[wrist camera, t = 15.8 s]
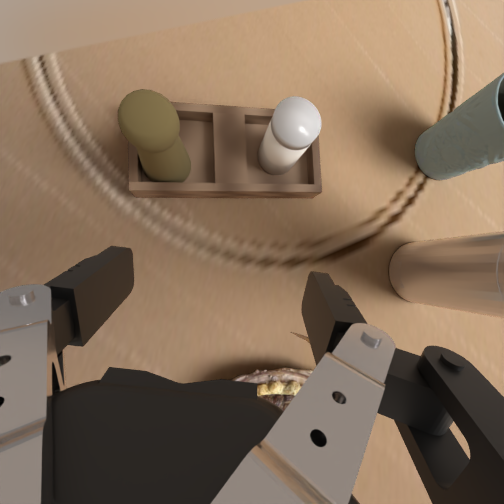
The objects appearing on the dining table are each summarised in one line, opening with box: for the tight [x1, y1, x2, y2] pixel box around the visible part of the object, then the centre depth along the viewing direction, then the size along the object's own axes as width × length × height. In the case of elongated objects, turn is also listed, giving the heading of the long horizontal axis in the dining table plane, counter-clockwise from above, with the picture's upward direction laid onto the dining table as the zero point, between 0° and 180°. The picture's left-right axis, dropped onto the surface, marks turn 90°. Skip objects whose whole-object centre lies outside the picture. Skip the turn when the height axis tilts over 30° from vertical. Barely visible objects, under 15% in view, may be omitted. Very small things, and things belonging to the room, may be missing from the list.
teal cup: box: [415, 73, 504, 180], centre depth 34 cm, size 10×10×12 cm
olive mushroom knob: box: [118, 89, 191, 183], centre depth 26 cm, size 6×6×11 cm
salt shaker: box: [258, 96, 321, 175], centre depth 30 cm, size 5×5×9 cm
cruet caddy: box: [128, 102, 322, 198], centre depth 33 cm, size 24×11×3 cm, turn 93°
